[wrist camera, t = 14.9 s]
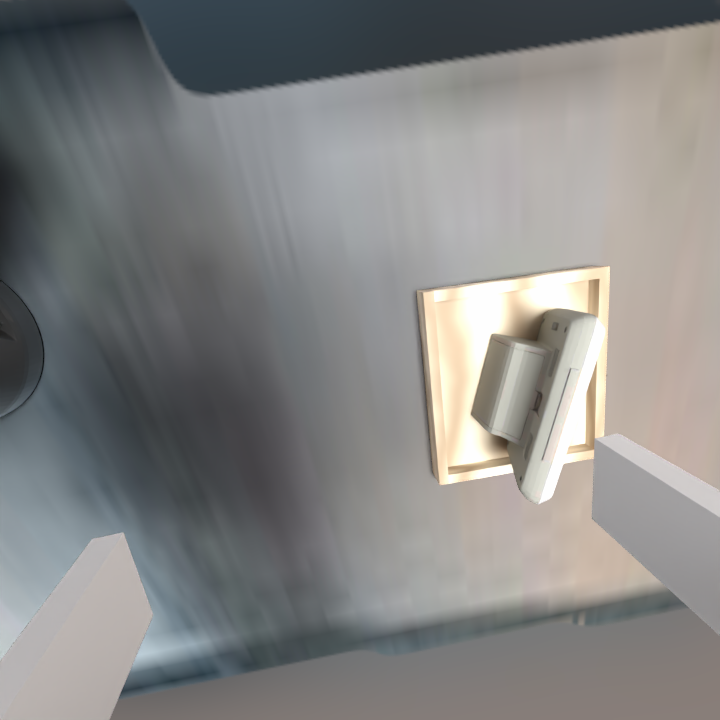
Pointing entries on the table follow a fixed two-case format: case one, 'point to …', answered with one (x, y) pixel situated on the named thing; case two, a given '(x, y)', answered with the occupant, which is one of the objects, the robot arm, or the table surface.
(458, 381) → the birch tray
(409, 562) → the table surface
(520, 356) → the digital clock
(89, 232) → the table surface
